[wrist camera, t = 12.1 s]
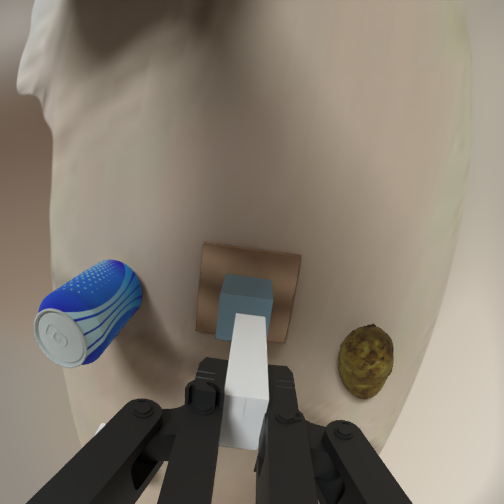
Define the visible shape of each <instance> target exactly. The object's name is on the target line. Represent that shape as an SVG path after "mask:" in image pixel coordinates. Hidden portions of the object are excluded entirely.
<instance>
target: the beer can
mask: <svg viewBox="0 0 504 504" xmlns="http://www.w3.org/2000/svg"><path fill="white" fill-rule="evenodd" d="M141 301H142V287H141V284H140V281H139V279H138V277H137V275H136V274H135V273H134V271H133V270H132V269H131V268H130V267H129V266H127V265H126V264H124V263H122V262H120V261H117V260H103V261H101V262H99V263H97V264H95V265H94V266H92V267H91V268H89V269H88V270H86V271H84V272H83V273H81V274H80V275H78V276H76V277H75V278H73V279H72V280H70V281H69V282H67V283H66V284H64V285H63V286H61V287H60V288H58V289H56V290H55V291H53V292H52V293H50V294H49V295H48V296H46V298H45V299H44V300H43V301H42V303H41V305H40V308H39V312H38V314H37V316H36V318H35V321H34V334H35V337H36V340H37V343H38V345H39V346H40V348H41V349H42V351H43V352H44V353H45V355H46V356H47V357H48V358H49V359H51V360H52V361H53V362H54V363H56V364H58V365H60V366H62V367H66V368H75V367H78V366H80V365H85V364H89V363H92V362H94V361H95V360H97V359H98V358H99V357H100V355H101V354H102V353H103V352H104V350H105V349H106V348H107V347H108V345H109V344H110V343H111V342H112V340H113V339H114V338H115V337H116V335H117V334H118V333H119V332H120V330H121V329H122V328H123V327H124V325H125V324H126V323H127V322H128V321H129V319H130V318H131V317H132V316H133V314H134V313H135V312H136V311H137V310H138V308H139V306H140V304H141Z"/></svg>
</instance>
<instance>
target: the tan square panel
mask: <svg viewBox="0 0 504 504" xmlns="http://www.w3.org/2000/svg"><path fill="white" fill-rule="evenodd" d="M300 260H301V256H300V255H296V254H288V253H281V252H274V251H266V250H259V249H251V248H244V247H237V246H229V245H222V244H215V243H207V242H204V244H203V252H202V262H201V272H200V283H199V295H198V307H197V320H196V331H199V332H205V333H212V334H216V328H217V319H218V309H219V300H220V292H221V289H222V286H223V282H224V279H225V276H226V274H232V275H239V276H247V277H254V278H262V279H269V280H271V283H272V292H273V306H272V311H271V317H270V323H269V328H268V334H267V340H266V341H273V342H282V343H285V338H286V333H287V328H288V323H289V318H290V313H291V308H292V303H293V298H294V293H295V287H296V282H297V277H298V271H299V266H300Z"/></svg>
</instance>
